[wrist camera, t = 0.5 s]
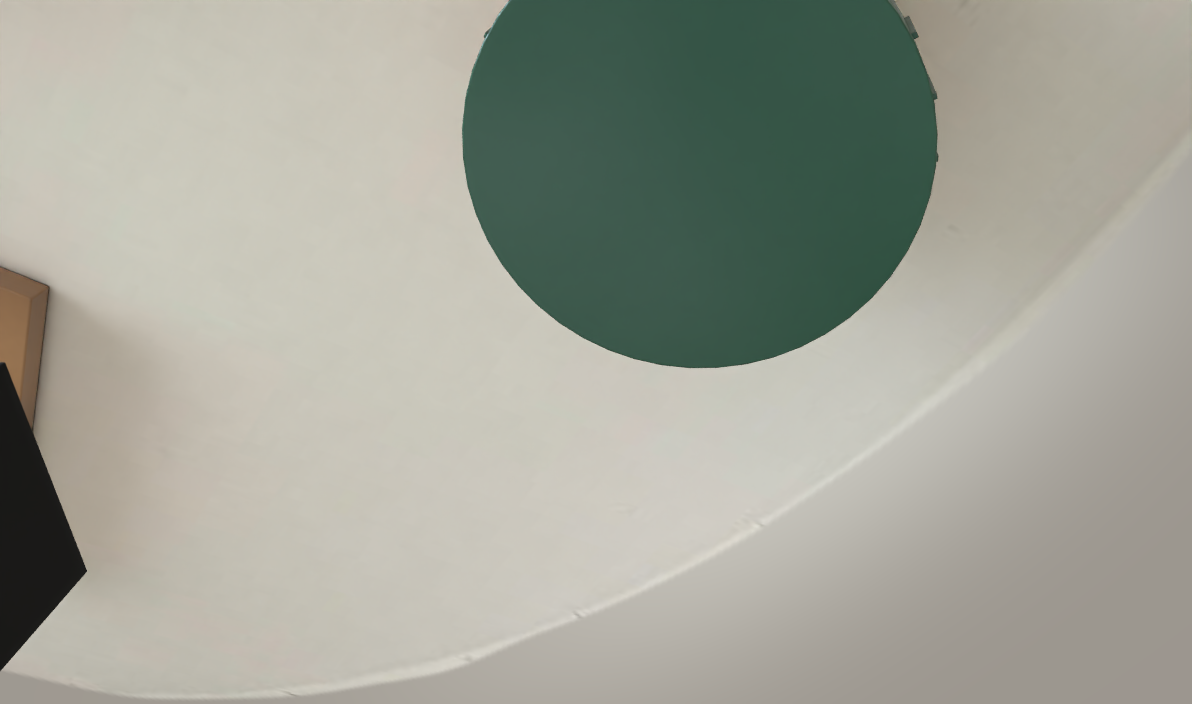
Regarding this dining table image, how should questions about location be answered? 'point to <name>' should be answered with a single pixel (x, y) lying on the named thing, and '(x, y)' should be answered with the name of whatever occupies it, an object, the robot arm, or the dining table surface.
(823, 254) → the jar lid
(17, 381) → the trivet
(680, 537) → the dining table surface
